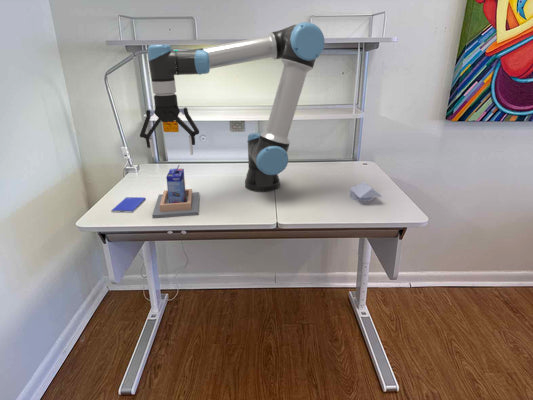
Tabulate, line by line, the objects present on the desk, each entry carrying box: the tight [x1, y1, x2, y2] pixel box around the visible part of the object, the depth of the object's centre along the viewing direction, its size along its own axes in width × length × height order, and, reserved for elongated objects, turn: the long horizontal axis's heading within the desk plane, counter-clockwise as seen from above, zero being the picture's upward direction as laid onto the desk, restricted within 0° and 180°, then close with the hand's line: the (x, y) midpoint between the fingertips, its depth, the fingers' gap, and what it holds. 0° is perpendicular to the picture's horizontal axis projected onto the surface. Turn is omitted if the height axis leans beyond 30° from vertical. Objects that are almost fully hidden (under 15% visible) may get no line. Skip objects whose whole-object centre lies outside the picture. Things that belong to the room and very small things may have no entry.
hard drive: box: [111, 196, 147, 214], centre depth 139 cm, size 2×8×12 cm
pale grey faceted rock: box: [349, 181, 382, 202], centre depth 141 cm, size 9×7×13 cm
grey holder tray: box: [151, 188, 200, 219], centre depth 138 cm, size 16×20×4 cm
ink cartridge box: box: [165, 164, 186, 203], centre depth 135 cm, size 10×6×14 cm, turn 6°
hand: (172, 155), depth 131 cm, fingers open, 13 cm apart
